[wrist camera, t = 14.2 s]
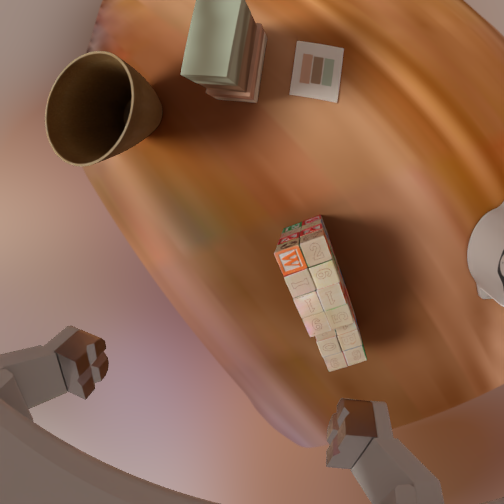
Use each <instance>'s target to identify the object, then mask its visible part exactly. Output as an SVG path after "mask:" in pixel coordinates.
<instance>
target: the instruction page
mask: <svg viewBox="0 0 504 504" xmlns="http://www.w3.org/2000/svg"><path fill="white" fill-rule="evenodd" d="M343 53H344V48H339V47H334V46H329V45H323V44H317V43H310V42H304V41H297V45H296V52H295V59H294V66H293V73H292V80H291V86H290V93H289V95H296V96H302V97H308V98H314V99H320V100H325V101H330V102H335V103H337V100H338V93H339V86H340V78H341V70H342V62H343Z"/></svg>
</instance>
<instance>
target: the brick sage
mask: <svg viewBox="0 0 504 504" xmlns="http://www.w3.org/2000/svg"><path fill="white" fill-rule="evenodd" d="M250 15H251V12H250V10H249V8H248V6H247V4H246V2H245V0H196V4H195V8H194V12H193V16H192V20H191V25H190V29H189V34H188V38H187V43H186V48H185V53H184V58H183V63H182V68H181V74H180V75H182V76H184V77H186V78H188V79H189V80H191V81H193V82H195V83H200V84H218V85H231V86H238V81H239V75H240V69H241V64H242V58H243V53H244V47H245V42H246V36H247V31H248V26H249V21H250Z"/></svg>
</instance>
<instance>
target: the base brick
mask: <svg viewBox="0 0 504 504" xmlns="http://www.w3.org/2000/svg"><path fill="white" fill-rule="evenodd" d="M256 25H257V30H256V36H255V42H254V48H253V54H252V60H251V66H250V72H249V79H248V85H247V92H246V93H244V92H233V91H219V90H209V89H207V88H206V94H208V95H210V96H212V97H214V98H216V99H218V100H229V101H240V102H250V103H257V101H258V94H259V88H260V81H261V75H262V68H263V62H264V55H265V49H266V43H267V36H266V34H265V31H264V29H263V26H262V24H260V23H256Z"/></svg>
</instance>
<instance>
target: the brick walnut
mask: <svg viewBox="0 0 504 504" xmlns="http://www.w3.org/2000/svg"><path fill="white" fill-rule="evenodd" d="M256 30H257V25H256V23H255V21H254V19H253V17H252V15H250V21H249V26H248V31H247V36H246V42H245V47H244V53H243V58H242V64H241V69H240V75H239V81H238V86H231V85H218V84H200V83H198V84H200V85H202V86H203V87H205V88H207V89H209V90H219V91H233V92H244V93H246V92H247V85H248V79H249V72H250V66H251V60H252V54H253V48H254V42H255V36H256Z"/></svg>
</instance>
